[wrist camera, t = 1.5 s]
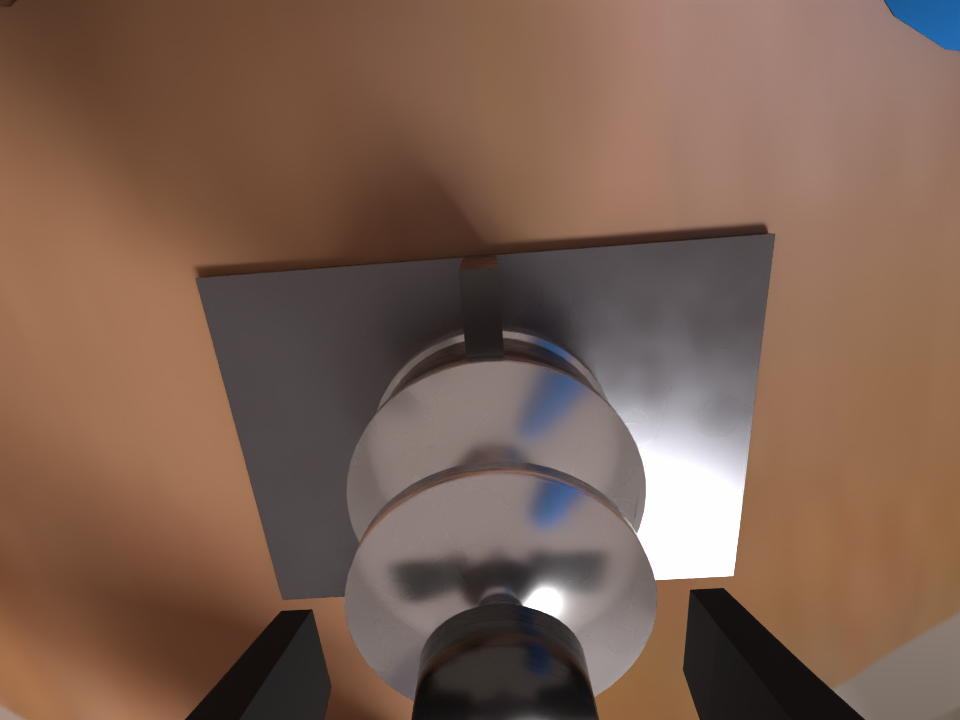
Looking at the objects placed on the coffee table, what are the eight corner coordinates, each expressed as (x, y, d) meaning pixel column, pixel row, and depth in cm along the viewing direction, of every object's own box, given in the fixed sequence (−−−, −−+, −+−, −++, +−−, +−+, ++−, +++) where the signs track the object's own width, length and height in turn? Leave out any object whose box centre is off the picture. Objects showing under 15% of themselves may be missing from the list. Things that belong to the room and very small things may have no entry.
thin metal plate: (729, 570, 18) (789, 659, 15) (285, 593, 19) (238, 685, 15) (769, 233, 14) (866, 242, 11) (201, 276, 15) (109, 299, 11)
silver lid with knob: (641, 688, 11) (698, 859, 8) (376, 700, 11) (338, 870, 8) (653, 450, 9) (733, 565, 6) (327, 470, 9) (257, 591, 6)
